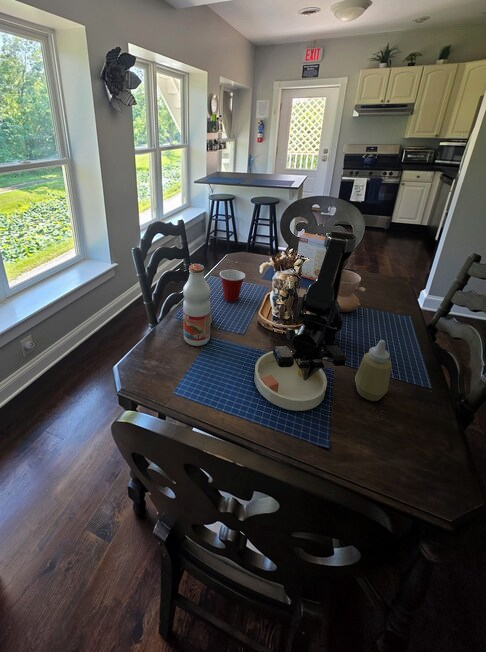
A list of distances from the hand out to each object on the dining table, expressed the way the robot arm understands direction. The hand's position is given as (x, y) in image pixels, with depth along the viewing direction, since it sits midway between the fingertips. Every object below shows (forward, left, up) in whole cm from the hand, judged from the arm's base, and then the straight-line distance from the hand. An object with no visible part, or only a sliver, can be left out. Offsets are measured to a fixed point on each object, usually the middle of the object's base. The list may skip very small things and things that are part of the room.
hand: (304, 379), depth 93 cm
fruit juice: (+29, -24, -2) cm, 38 cm away
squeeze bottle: (-17, +4, -2) cm, 17 cm away
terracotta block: (+11, +2, -1) cm, 11 cm away
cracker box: (-30, -67, -2) cm, 73 cm away
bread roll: (+27, -34, -2) cm, 43 cm away
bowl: (+4, -1, -2) cm, 5 cm away
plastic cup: (+12, -50, -2) cm, 51 cm away
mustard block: (-2, -3, -1) cm, 4 cm away
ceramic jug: (-30, -41, -2) cm, 50 cm away
